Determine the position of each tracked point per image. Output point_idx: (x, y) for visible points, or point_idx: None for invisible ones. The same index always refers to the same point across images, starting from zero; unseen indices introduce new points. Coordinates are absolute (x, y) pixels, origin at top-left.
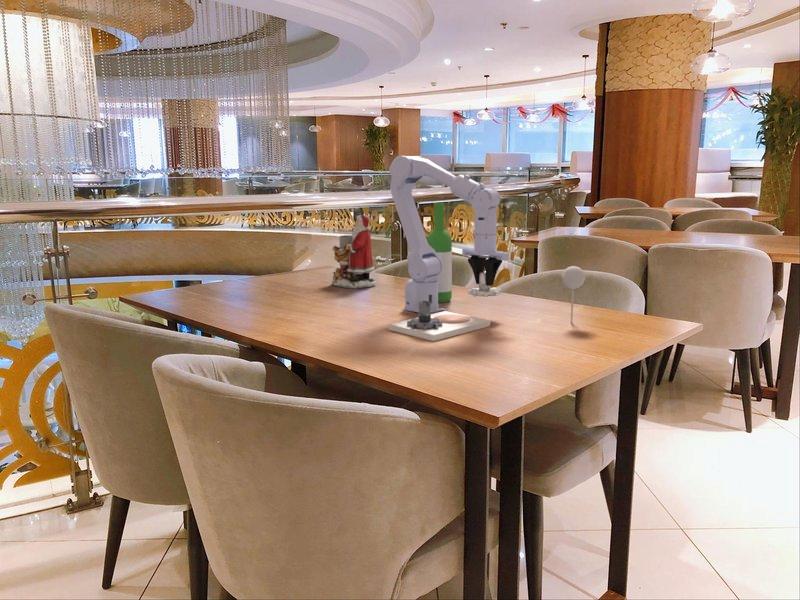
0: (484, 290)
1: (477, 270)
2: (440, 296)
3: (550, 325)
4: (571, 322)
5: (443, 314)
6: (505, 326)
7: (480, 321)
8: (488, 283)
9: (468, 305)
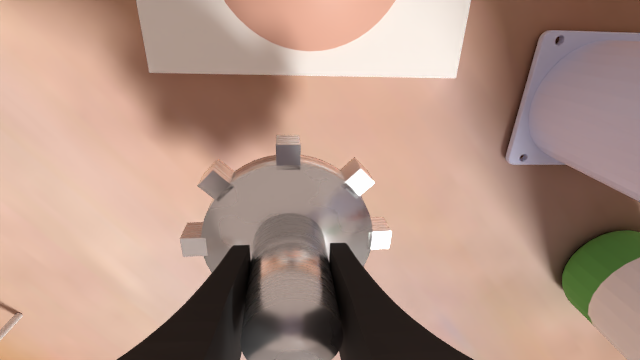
0: (265, 220)
1: (351, 323)
2: (601, 257)
3: (24, 245)
4: (15, 314)
5: (418, 6)
6: (112, 113)
7: (159, 11)
8: (225, 255)
9: (467, 278)
